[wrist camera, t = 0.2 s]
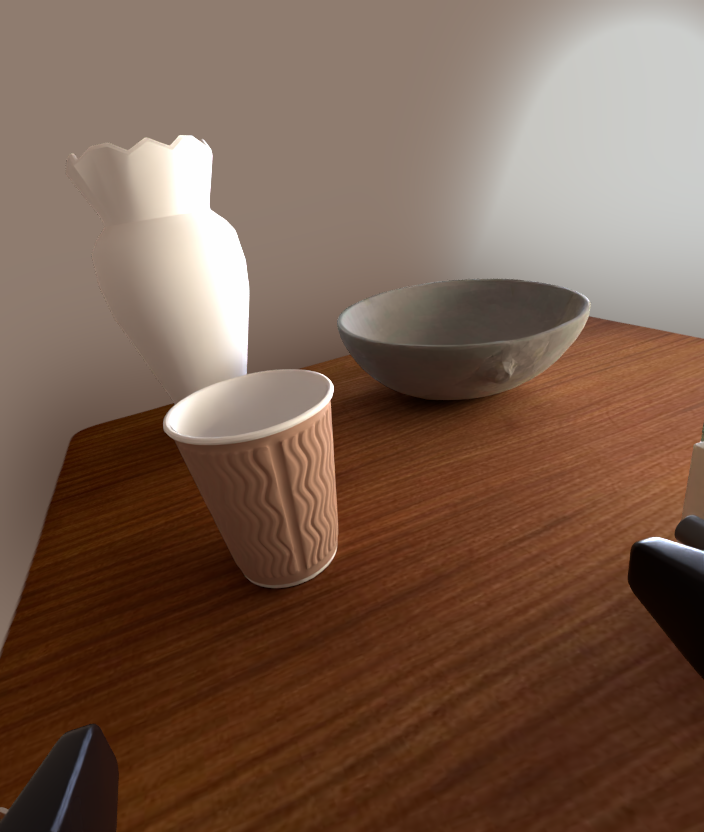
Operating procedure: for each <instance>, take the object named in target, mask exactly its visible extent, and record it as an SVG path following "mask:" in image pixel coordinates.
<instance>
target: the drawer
mask: <svg viewBox="0 0 704 832" xmlns="http://www.w3.org/2000/svg"><path fill="white" fill-rule="evenodd" d="M675 538H676V539H677V540H678V543H679V544H682V545H685V546H689V547H692V548H695V549H698V550H701V551H704V441H703V442H700V443H697V444H694V447H693V453H692V459H691V465H690V471H689V477H688V483H687V489H686V495H685V501H684V507H683V513H682V519H681V522H680V523H679V524H678V525H677V527H676V529H675Z"/></svg>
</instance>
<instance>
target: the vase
mask: <svg viewBox="0 0 704 832" xmlns="http://www.w3.org/2000/svg"><path fill="white" fill-rule="evenodd" d="M211 151H212V150H211V149H210V147H209V146H208V144H207V143H206V142H205V141H204V140H203V139H201V140H200V141H199V140H197V139H196V138H194V137H193V136H187V135H186V136H185V135H179V136H178V137H177V139H176V140H175V141H174V142H173V143H172V144H171V145H170V146H169V145H166V144H163V143H161V142H158V141H155V140H153V139H150V138H147V137H145V138H144V139H142V140H141V141H140V142H138V143H137V144H136V145H135V146H133V147H132V148H131V149H129V150H126V149H123V148H121V147H118V146H116V145H113V144H111V143H102V144H98V145H93V146H90V147H89V148H88V149H87V150H86V151H85V152H84V153H83V154H82V155H81V156H80V157H79V158H78V159H77V157H76V155H75V154H73V153H70V155H69V156H68V158H67V160H66V175H67V176H68V177H69V179H70V180H71V181H72V183H73V184H74V185H75V186H76V188H77V189H78V190H79V191H80V193H81V194H82V195H83V196H84V198H85V199H86V200H87V202H88V203H89V204H90V205H91V207H92V208H93V209H94V210H95V212H96V213H97V214H98V215H99V217H100V219H101V220H102V222H103V225H104V229H103V230H102V232H101V233H100V235H99V237H98V239H97V240H96V242H95V245H94V248H93V252H92V256H91V257H92V261H93V265H94V268H95V272H96V276H97V280H98V284H99V288H100V290H101V292H102V294H103V296H104V298H105V300H106V303H107V305H108V307H109V309H110V311H111V313H112V315H113V317H114V319H115V320H116V322H117V323H118V324H119V326H120V327H121V329H122V330H123V332H124V333H125V334H126V336H127V337H128V339H129V340H130V341H131V343H132V344H133V345H134V347H135V348H136V349H137V351H138V353H139V354H140V355H141V357H142V358H143V360H144V361H145V362H146V364H147V365H148V367H149V368H150V369H151V371H152V372H153V374H154V375H155V377H156V378H157V379H158V381H159V382H160V384H161V385H162V387H163V388H164V389H165V391H166V392H167V394H168V395H169V396H170V398H171V399H172V401H173V402H174V404H175V405H176V404H177V403H178V402H180V401H181V400H183V399H184V398H186V397H187V396H189V395H191V394H193V393H195V392H197V391H199V390H201V389H203V388H205V387H208V386H210V385H213V384H215V383H218V382H221V381H224V380H227V379H231V378H234V377H238V376H242V375H246V374H247V347H248V345H247V344H248V315H249V314H248V313H249V283H248V276H247V268H246V261H245V258H244V254H243V251H242V248H241V246H240V243H239V240H238V237H237V234H236V231H235V229H234V228H233V227H232V226H231V225H230V224H229V223H228V222H227V221H226V220H225V219H223V218H222V217H220V216H219V215H217V214H216V213H214V212H213V211H211V210H210V206H209V199H210V184H211V169H212V168H211V167H212V153H211Z"/></svg>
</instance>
